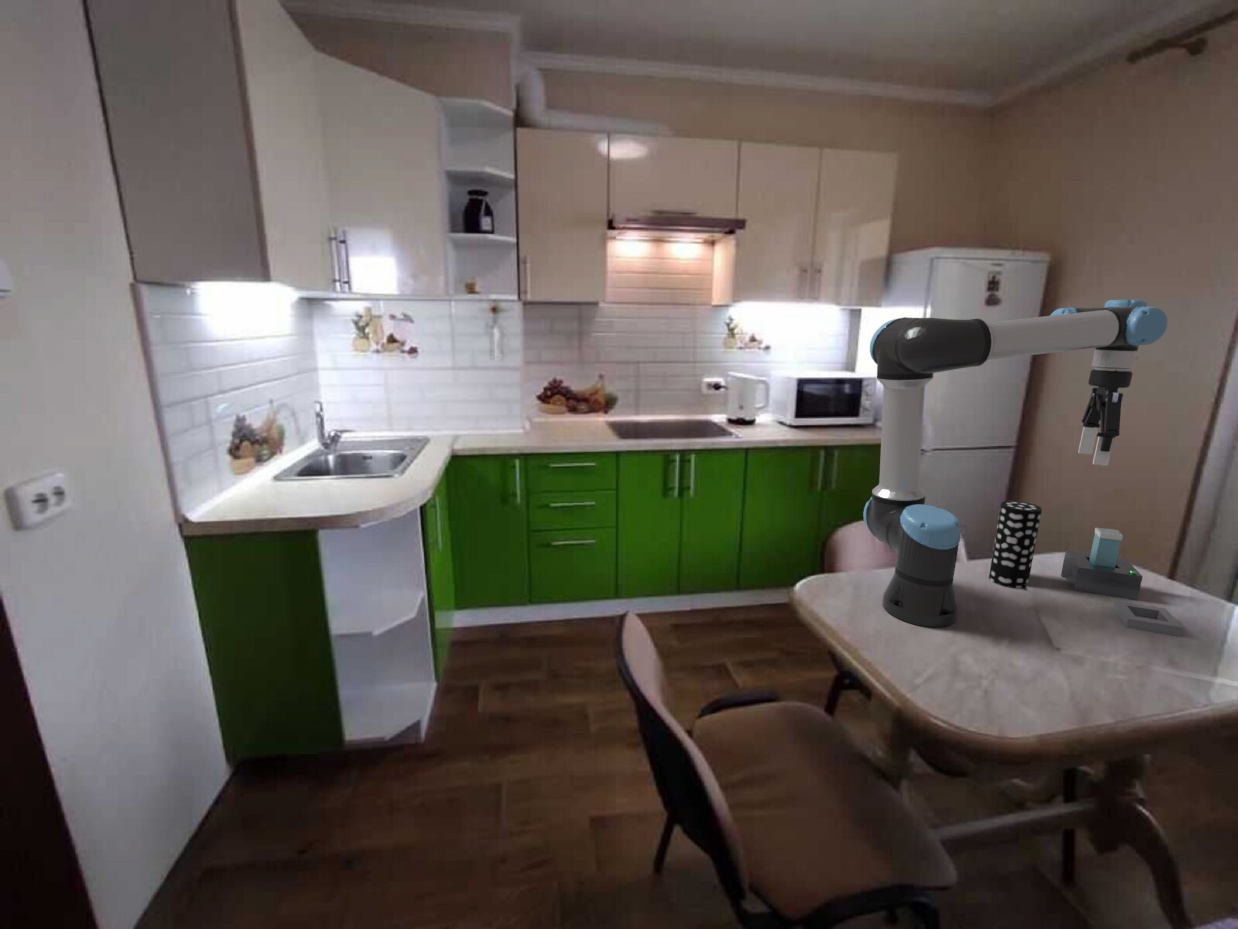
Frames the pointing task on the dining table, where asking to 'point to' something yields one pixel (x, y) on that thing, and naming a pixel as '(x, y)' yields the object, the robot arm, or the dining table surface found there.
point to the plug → (1105, 547)
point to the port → (1101, 576)
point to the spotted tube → (1014, 543)
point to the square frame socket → (1147, 618)
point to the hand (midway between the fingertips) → (1092, 459)
